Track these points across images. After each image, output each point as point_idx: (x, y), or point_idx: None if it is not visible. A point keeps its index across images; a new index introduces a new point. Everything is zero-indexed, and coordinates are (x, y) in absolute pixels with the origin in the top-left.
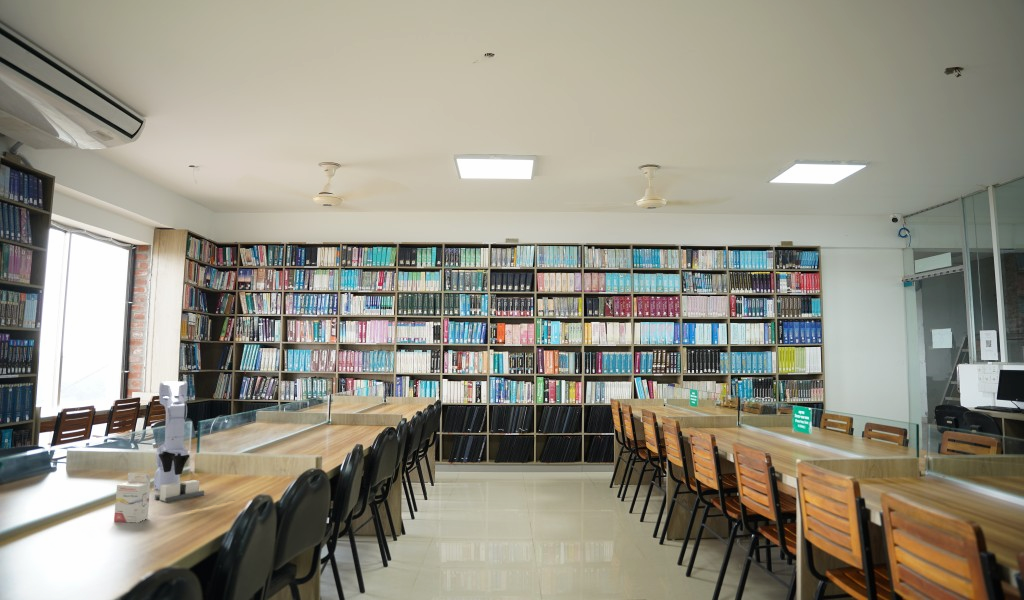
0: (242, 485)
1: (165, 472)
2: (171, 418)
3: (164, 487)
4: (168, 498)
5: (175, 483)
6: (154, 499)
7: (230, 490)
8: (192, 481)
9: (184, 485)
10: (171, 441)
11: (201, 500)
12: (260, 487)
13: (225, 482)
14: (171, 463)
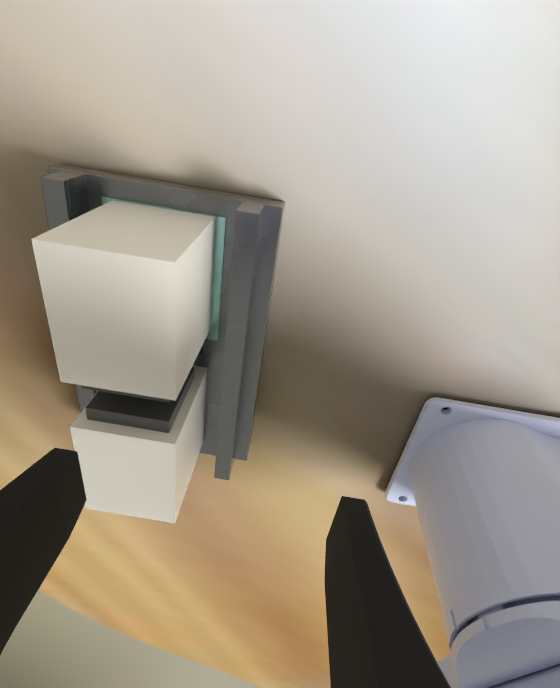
0: (199, 604)
1: (517, 566)
2: None
3: (83, 241)
4: (47, 198)
5: (140, 389)
6: (269, 205)
7: (151, 545)
8: (113, 486)
9: (88, 407)
10: None
11: (42, 373)
12: (98, 598)
13: (323, 621)
14: (330, 669)
